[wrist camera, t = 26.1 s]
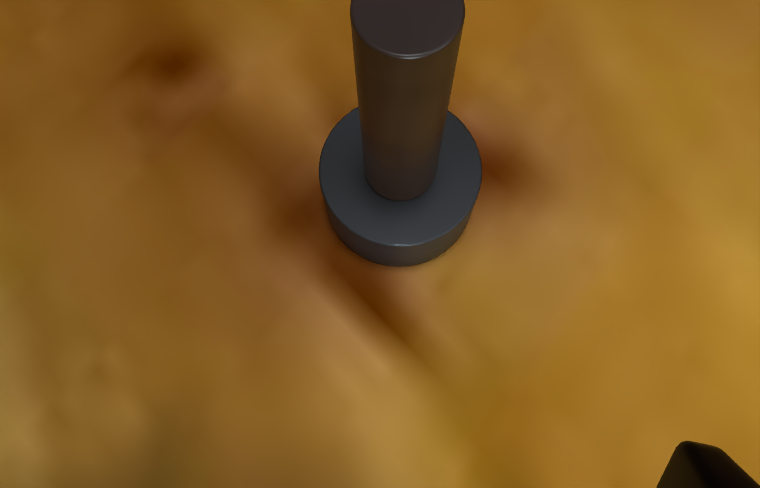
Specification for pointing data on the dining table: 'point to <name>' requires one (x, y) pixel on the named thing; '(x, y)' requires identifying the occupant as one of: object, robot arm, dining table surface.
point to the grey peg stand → (402, 137)
